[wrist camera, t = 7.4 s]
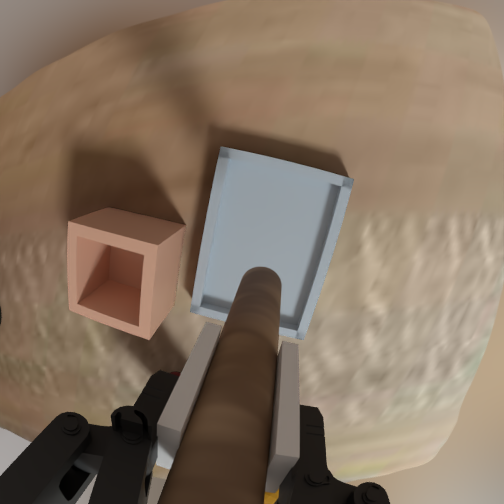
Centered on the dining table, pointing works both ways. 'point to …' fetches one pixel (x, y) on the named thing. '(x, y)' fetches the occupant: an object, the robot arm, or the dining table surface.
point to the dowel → (233, 405)
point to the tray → (269, 233)
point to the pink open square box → (123, 269)
